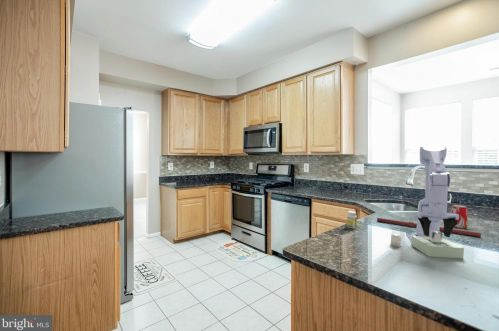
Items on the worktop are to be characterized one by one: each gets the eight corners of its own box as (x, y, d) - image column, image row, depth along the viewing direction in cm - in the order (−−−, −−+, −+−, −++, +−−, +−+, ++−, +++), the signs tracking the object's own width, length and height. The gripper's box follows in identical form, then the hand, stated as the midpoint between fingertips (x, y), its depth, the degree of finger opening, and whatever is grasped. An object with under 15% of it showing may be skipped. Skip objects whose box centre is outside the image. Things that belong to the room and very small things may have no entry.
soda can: (466, 229, 130) (467, 207, 129) (449, 226, 135) (450, 205, 135) (468, 227, 134) (469, 206, 134) (451, 224, 140) (452, 204, 139)
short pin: (389, 243, 106) (389, 233, 106) (398, 243, 106) (398, 233, 105) (393, 246, 102) (393, 235, 102) (402, 246, 102) (402, 236, 102)
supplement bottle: (354, 226, 133) (354, 210, 132) (358, 228, 128) (358, 212, 128) (345, 226, 132) (345, 210, 132) (349, 228, 128) (349, 212, 127)
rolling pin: (376, 222, 143) (376, 217, 143) (377, 221, 145) (377, 216, 145) (481, 238, 116) (481, 232, 116) (479, 237, 119) (480, 230, 118)
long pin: (427, 249, 99) (428, 230, 99) (436, 249, 99) (437, 230, 99) (434, 252, 96) (435, 233, 96) (443, 253, 96) (444, 233, 96)
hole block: (411, 245, 104) (412, 236, 104) (441, 247, 103) (442, 237, 103) (428, 256, 92) (429, 246, 92) (463, 258, 91) (463, 248, 91)
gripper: (424, 203, 94) (422, 238, 94) (465, 205, 92) (463, 240, 92) (414, 200, 101) (413, 232, 101) (452, 201, 99) (450, 234, 99)
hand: (436, 236), depth 97 cm, fingers open, 7 cm apart
